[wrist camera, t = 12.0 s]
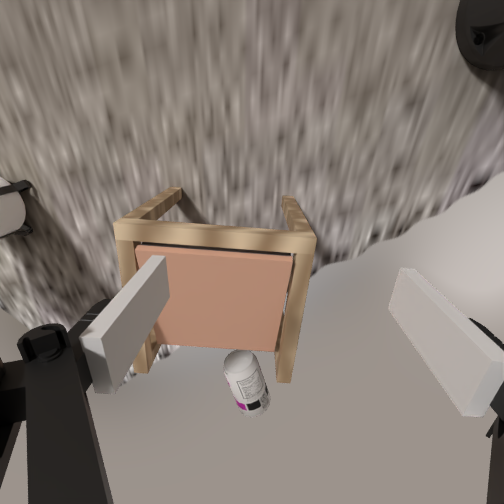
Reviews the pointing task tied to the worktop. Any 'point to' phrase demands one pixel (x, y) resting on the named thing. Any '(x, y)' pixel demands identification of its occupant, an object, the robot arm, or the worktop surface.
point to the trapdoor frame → (293, 241)
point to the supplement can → (246, 382)
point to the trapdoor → (220, 295)
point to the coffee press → (12, 208)
